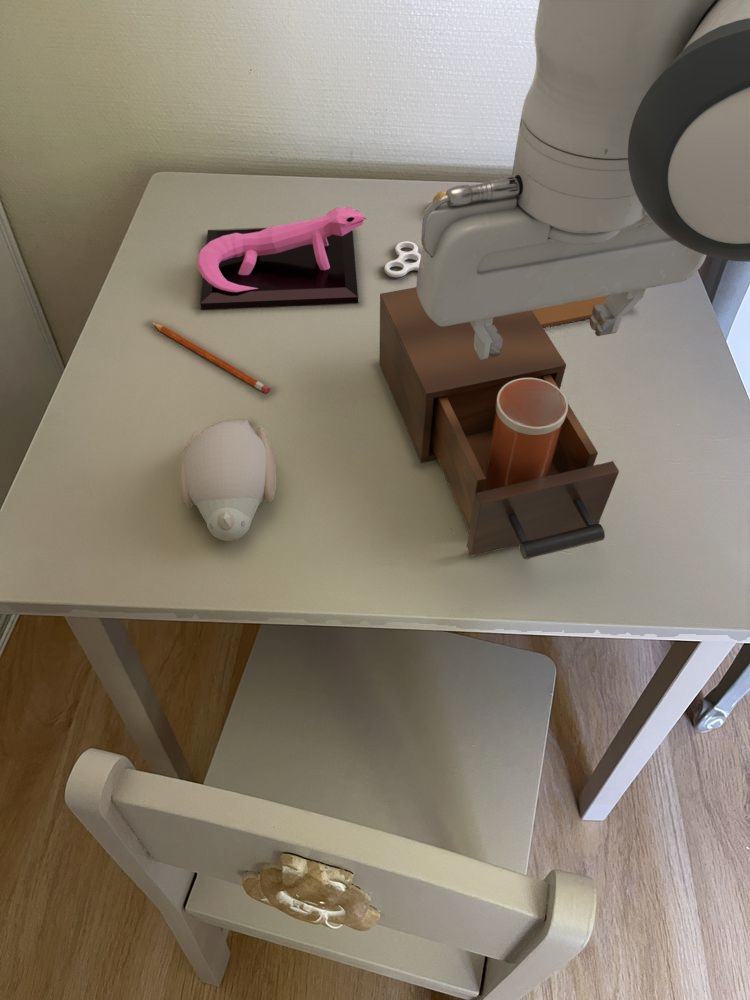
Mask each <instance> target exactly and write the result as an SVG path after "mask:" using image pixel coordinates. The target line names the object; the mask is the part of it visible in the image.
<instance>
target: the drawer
mask: <svg viewBox="0 0 750 1000" xmlns="http://www.w3.org/2000/svg"><path fill="white" fill-rule="evenodd" d="M532 378H537V379H541V380H544V381H547V382H549V383H551V384H553V385H555V386H556V387H557V388H558V386H557V385H556V383H555V381H554V380H553V378H552V376H551V375H550V374H547V375H542V376H537V377H532ZM505 384H507V383H504V384H499V385H494V386H489V387H485V388H480V389H475V390H470V391H466V392H461V393H456V394H451V395H446V396H442V397H437V398H434V405H433V416H432V427H431V439H430V444H431V446H432V448H433V451H434V453H435V455H436V457H437V459H436V461H437V462H438V464H439V466H440V468H441V471H442V474H443V476H444V478H445V480H446V482H447V485H448V487H449V489H450V491H451V494H452V496H453V498H454V500H455V502H456V505H457V507H458V509H459V512H460V514H461V516H462V519H463V521H464V523H465V525H466V527H467V530H468V536H467V541H466V548H467V551H468V553H469V555H470V557H475V556H478V555H482V554H486V553H487V554H488V553H490V552H491V553H492V552H494V551H498V550H503V549H507V548H511V547H514V546H518V545H519V552H520V556H521V557H522V559H523V560H530V559H533V558H538V557H541V556H545V555H549V554H554V553H556V552H557V553H558V552H562V551H565V550H569V549H574V548H577V547H581V546H584V545H589V544H593V543H597V542H602V541H604V540H605V538H606V534H605V533H606V532H605V530H604V527H603V526H602V524H600V521H601V518H602V516H603V513H604V511H605V509H606V506H607V504H608V501H609V499H610V496H611V493H612V491H613V488H614V486H615V483H616V481H617V478H618V475H619V473H620V470H619V468H618V467H617V465H616V464H615V462H614V460H612V461H607V462H603V463H599V464H595V463H596V460H597V456H598V454H599V451H598V450H597V448H596V447H595V445H594V443H593V441H592V440H591V439H590V437H589V435H588V434H587V432H586V430H585V429H584V427H583V425H582V423H581V422H580V421H579V419H578V417H577V416H576V414H575V412H574V411H573V409H572V407H571V405H570V404H569V403H568V411H567V414H566V418H565V420H564V422H563V424H562V427H561V431H560V434H559V438H558V441H557V445H556V448H555V452H554V455H553V459H552V463H551V466H550V470H549V473H548V476H547V477H543V478H538V479H534V480H530V481H526V482H521V483H517V484H513V485H508V486H504V487H500V488H496V489H491V490H487V491H485V490H484V487H485V481H486V477H485V475H484V473H485V468H486V462H487V457H488V451H489V446H490V440H491V434H492V429H493V423H494V418H495V412H496V400H497V395H498V393H499V391H500V389H501V388H502V387H503V386H504V385H505Z"/></svg>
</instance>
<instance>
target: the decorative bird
mask: <svg viewBox="0 0 750 1000" xmlns="http://www.w3.org/2000/svg"><path fill="white" fill-rule="evenodd" d="M277 475H278V473H277V464H276V459H275V454H274V449H273V447H272V444H271V441H270V438H269V436H268V433H267V432H266V430H265V429H264V427H262V426H261V425H259V426H258V427H257V431H255V430H254V429H253V427H252V426H251V425H250V423H249V421H248V420H247V419H244V420H229V421H220V422H219V423H216V424H213V425H211V426H208V427H207V428H206V429H204V430H201V429H200V430H199V429H198V430H196V431H195V432H194V433H193V434H192V435H191V436H190V438H189V440H188V441H187V443H186V446H185V448H184V451H183V452H182V456H181V459H180V465H179V473H178V482H179V483H178V484H179V485H178V486H179V491H180V496H181V498H182V501H183V504H184V505H185V506H186V507H187V508H190V509H192V508H193V507H194V505H195V507H196V508H197V509H198V511H199V513H200V514H201V517H202V518H203V520H204V522H205V523H206V526H207V529H208V531H209V533H210V534H211V535H212V536H213V537H214V538H216V539H218V540H221V541H225V542H230V541H235V540H238V539H241V538H242V537H243V536H245V535H246V534H247V533H248V531H249V530H250V528H251V525H252V521H253V519H254V516H255V514H256V512H257V510H258V508H259V505H261V503H262V501H264V499H265V500H266V502H267V503H271V502H272V501H273V500H274V497H275V495H276V491H277V483H278V482H277V481H278V477H277Z"/></svg>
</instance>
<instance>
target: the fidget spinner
mask: <svg viewBox="0 0 750 1000" xmlns="http://www.w3.org/2000/svg"><path fill="white" fill-rule="evenodd" d="M403 248H409V249H412V250H410V251H404V250H401V249H403ZM394 253H395V254H396V255H397V258H395V259H393V260H389V261H388V262H386V263H385V264H384V266H383V267H384V268H383V270H384V273H385V275H387V276H388V277H390V278H401V277H404V276H406V275H407V274H408V273H409V272H412V271H418V269H419V263H420V258H421V253H419V247H418V245H417V244H416V243H415V242H412V241H408V240H405V241H400V242H398V243H397V244H396V245H395V247H394ZM407 260H414V261H415V262H407ZM393 267H398V268H401V269H400V270H392V269H391V268H393Z"/></svg>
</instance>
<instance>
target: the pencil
mask: <svg viewBox="0 0 750 1000" xmlns="http://www.w3.org/2000/svg"><path fill="white" fill-rule="evenodd" d="M152 325H153V326H154V327H156V328H157V329H158V330H159V331H160V332H161V333H163V334H164V335H166V336H167V337H170V338H171V339H173V340H174V341H176V342H178V343H180V344H181V345H183V346H185V347H186V348H188V349H189V350H191V351H192V352H195V353H197V354H198V355H200V356H201V357H203V358H205V359H206V360H209V361H210V362H212V363H214V364H215V365H216V366H218V367H221V368H222V369H224V370H226V371H227V372H229V373H230V374H232V375H234V376H235V377H237V378H239V379H241V380H243V381H244V382H246V383H248V384H249V385H251V386H253V387H254V388H256V389H258V390H260V391H261V392H263V393H264V394H268V393H270V392H271V387H269V386H267V385H265V384H264V383H262V382H261V381H258V380H257V379H255V378H253V377H252V376H251V375H248V374H247V373H245V372H243V371H242V370H240V369H238V368H236V367H235V366H233V365H231V364H229V363H228V362H226V361H224V360H223V359H221V358H219V357H218V356H216V355H214V354H213V353H211V352H209V351H207V350H206V349H205V348H203V347H200V346H199V345H197V344H196V343H194V342H192V341H191V340H189V339H187V338H186V337H184V336H182V335H180V334H179V333H176V332H175V331H173V329H172V330H171V329H170V328H168V327H167V326H165V325H162V324H160V323H155V322H152Z"/></svg>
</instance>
